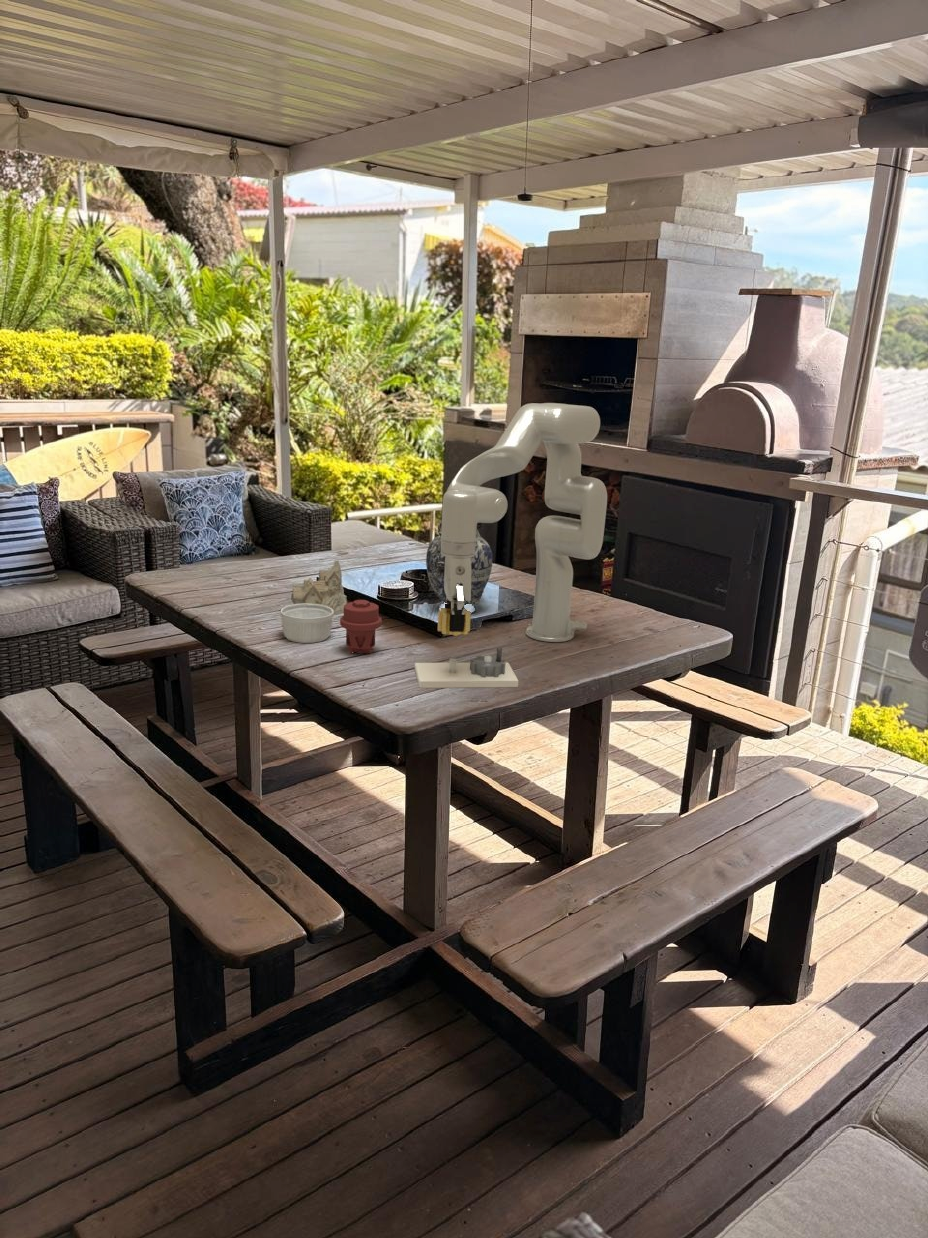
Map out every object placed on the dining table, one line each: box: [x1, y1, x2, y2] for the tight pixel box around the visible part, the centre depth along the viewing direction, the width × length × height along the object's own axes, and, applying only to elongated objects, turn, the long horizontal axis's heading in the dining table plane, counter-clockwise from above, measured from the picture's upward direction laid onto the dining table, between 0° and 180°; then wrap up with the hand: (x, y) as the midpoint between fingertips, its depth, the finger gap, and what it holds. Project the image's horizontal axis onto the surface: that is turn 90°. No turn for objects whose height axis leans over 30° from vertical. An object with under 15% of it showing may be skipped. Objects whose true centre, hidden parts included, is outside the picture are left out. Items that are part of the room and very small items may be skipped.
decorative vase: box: [425, 520, 493, 605], centre depth 256 cm, size 21×19×28 cm
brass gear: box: [437, 607, 472, 637], centre depth 203 cm, size 7×7×4 cm
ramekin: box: [279, 603, 335, 644], centre depth 230 cm, size 13×13×7 cm
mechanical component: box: [339, 599, 383, 654], centre depth 221 cm, size 12×10×10 cm
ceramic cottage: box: [290, 559, 348, 616], centre depth 254 cm, size 16×16×15 cm
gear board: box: [414, 647, 519, 689], centre depth 207 cm, size 22×12×7 cm, turn 98°
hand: (454, 625), depth 204 cm, fingers closed on brass gear, 7 cm apart
